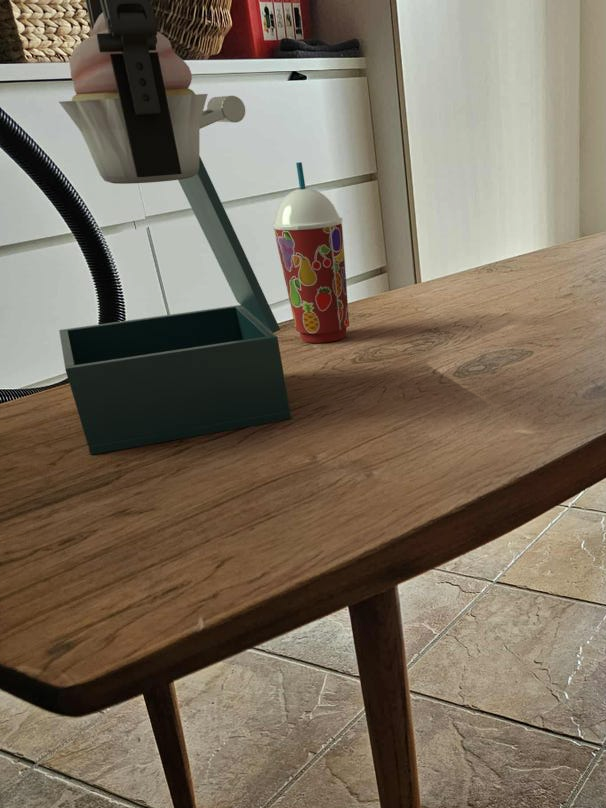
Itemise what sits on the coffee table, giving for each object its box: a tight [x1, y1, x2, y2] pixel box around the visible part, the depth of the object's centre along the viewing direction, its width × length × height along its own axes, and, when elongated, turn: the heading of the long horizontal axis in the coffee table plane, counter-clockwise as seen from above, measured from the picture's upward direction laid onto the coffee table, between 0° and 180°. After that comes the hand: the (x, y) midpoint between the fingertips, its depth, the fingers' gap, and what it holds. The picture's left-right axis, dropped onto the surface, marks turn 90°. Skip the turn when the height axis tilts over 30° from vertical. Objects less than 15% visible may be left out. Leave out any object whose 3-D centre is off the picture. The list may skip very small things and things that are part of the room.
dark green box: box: [59, 304, 292, 456], centre depth 89 cm, size 19×18×8 cm
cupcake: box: [58, 13, 208, 185], centre depth 59 cm, size 9×9×10 cm
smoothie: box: [271, 161, 350, 344], centre depth 110 cm, size 8×8×20 cm
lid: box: [177, 95, 281, 334], centre depth 85 cm, size 19×18×7 cm
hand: (150, 170), depth 61 cm, fingers closed on cupcake, 9 cm apart
